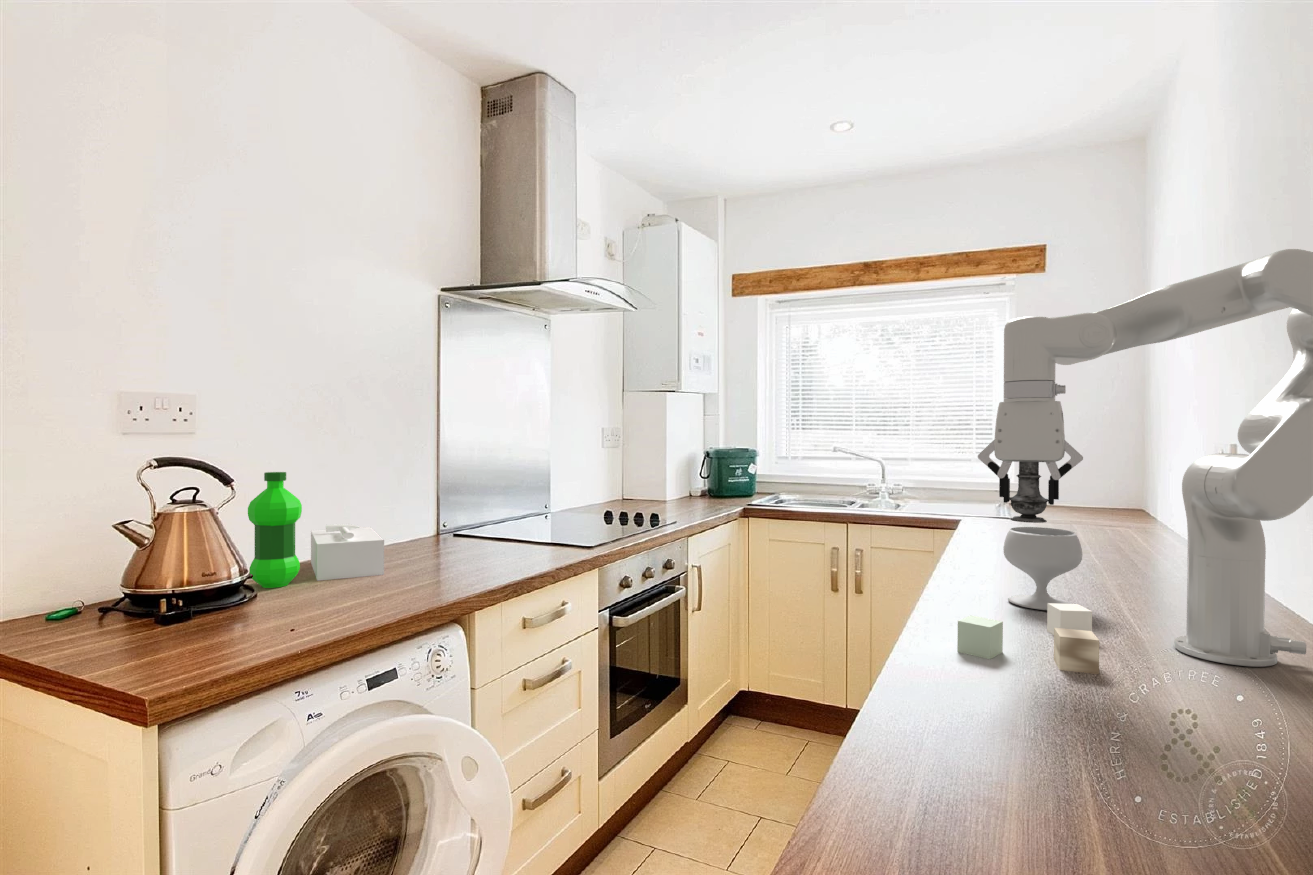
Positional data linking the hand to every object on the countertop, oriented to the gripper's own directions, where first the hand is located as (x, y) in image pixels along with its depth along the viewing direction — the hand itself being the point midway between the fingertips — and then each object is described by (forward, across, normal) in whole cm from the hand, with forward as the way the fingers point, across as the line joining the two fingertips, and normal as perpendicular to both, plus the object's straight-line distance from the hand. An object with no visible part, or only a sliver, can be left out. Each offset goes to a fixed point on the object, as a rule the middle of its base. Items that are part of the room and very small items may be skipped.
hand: (1028, 501), depth 115 cm
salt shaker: (+3, 0, 0) cm, 3 cm away
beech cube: (+24, -7, +9) cm, 26 cm away
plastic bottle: (+23, +145, +41) cm, 153 cm away
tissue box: (+23, +150, +21) cm, 153 cm away
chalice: (+24, -1, -31) cm, 39 cm away
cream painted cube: (+24, -6, -9) cm, 26 cm away
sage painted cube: (+23, +6, +9) cm, 26 cm away
